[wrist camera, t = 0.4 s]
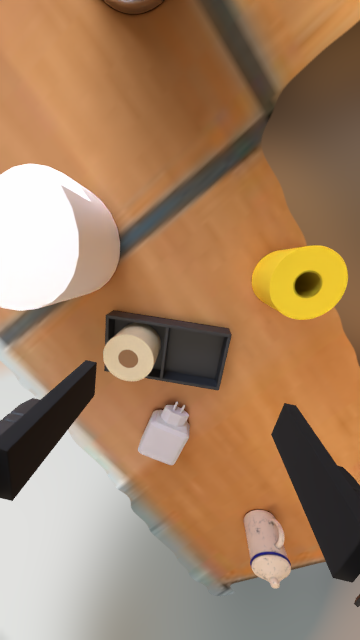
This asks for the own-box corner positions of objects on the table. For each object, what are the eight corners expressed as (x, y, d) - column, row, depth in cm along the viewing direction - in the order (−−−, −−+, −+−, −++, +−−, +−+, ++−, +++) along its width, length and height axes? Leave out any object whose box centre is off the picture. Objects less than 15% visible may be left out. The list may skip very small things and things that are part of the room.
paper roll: (119, 319, 40) (103, 330, 33) (163, 326, 40) (156, 339, 33) (117, 358, 43) (102, 377, 36) (158, 365, 42) (151, 385, 36)
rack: (113, 310, 40) (105, 314, 37) (228, 328, 39) (231, 334, 36) (111, 362, 44) (104, 371, 40) (217, 380, 43) (218, 390, 39)
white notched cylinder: (77, 156, 33) (0, 89, 20) (140, 263, 37) (110, 264, 24) (-2, 222, 37) (-107, 201, 24) (62, 312, 41) (2, 334, 28)
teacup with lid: (266, 534, 55) (283, 602, 44) (236, 523, 55) (246, 589, 44) (288, 509, 52) (313, 576, 41) (257, 497, 52) (274, 561, 41)
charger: (200, 403, 45) (176, 448, 49) (163, 388, 45) (142, 434, 49) (200, 419, 40) (174, 466, 45) (159, 402, 40) (136, 452, 44)
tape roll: (240, 275, 36) (255, 280, 27) (289, 237, 34) (322, 228, 25) (271, 315, 38) (295, 332, 29) (319, 282, 35) (362, 289, 26)
